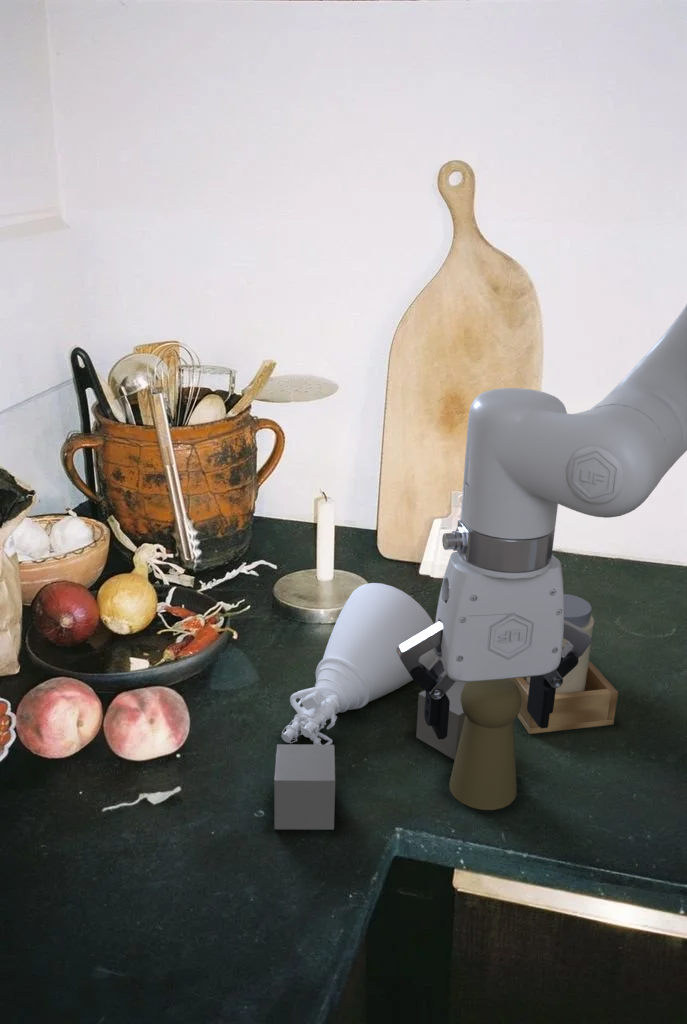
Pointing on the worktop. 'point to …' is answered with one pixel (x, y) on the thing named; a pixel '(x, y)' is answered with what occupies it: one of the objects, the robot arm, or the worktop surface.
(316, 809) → the grey block
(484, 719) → the olive pepper mill
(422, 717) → the grey block
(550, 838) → the worktop surface
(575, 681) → the cream shaker
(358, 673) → the rocket engine
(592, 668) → the spice rack
